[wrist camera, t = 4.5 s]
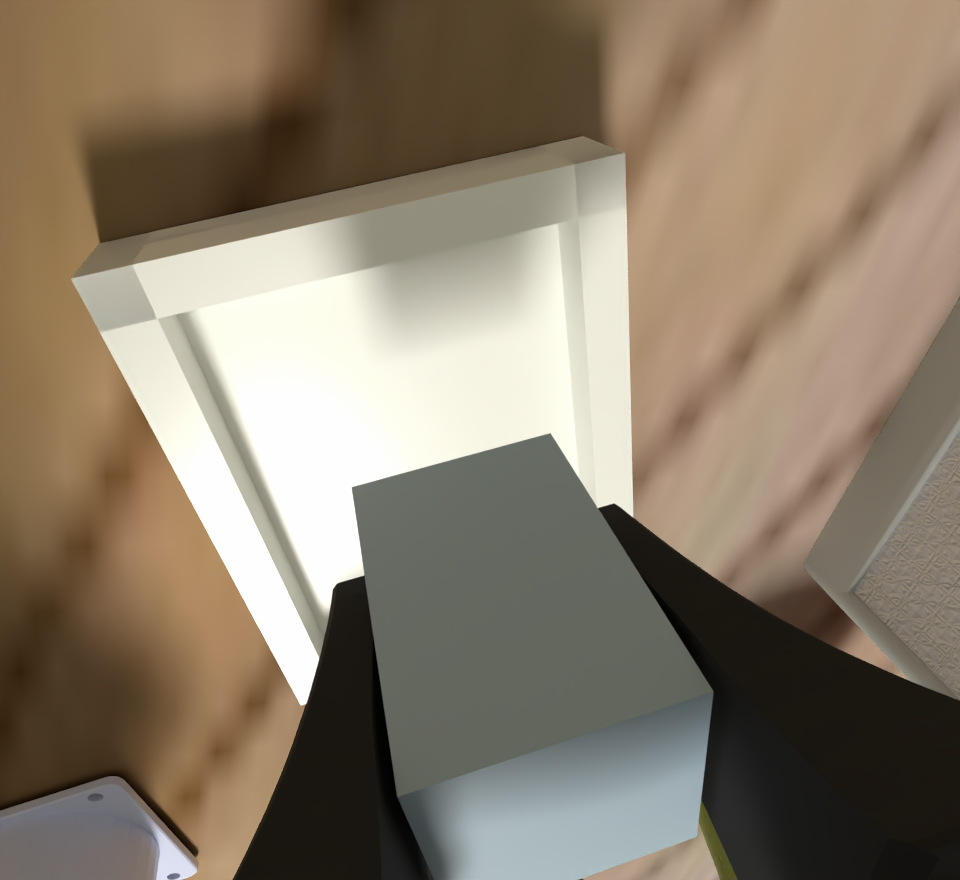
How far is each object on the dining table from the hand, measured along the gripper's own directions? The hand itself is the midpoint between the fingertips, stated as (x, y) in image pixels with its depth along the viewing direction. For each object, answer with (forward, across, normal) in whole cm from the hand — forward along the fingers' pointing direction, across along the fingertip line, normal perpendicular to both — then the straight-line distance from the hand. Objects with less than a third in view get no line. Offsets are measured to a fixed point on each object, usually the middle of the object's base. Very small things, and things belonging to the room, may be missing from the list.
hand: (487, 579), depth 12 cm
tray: (+8, 0, +2) cm, 9 cm away
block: (+2, 0, 0) cm, 2 cm away
